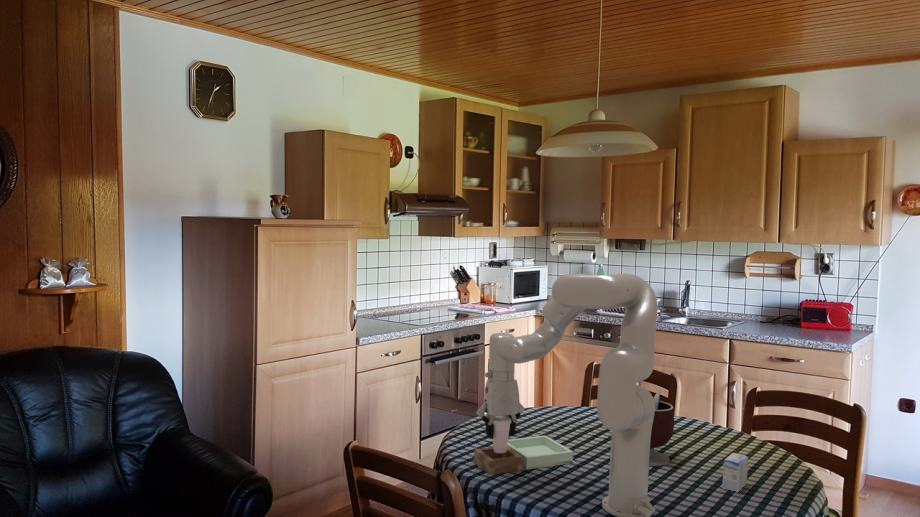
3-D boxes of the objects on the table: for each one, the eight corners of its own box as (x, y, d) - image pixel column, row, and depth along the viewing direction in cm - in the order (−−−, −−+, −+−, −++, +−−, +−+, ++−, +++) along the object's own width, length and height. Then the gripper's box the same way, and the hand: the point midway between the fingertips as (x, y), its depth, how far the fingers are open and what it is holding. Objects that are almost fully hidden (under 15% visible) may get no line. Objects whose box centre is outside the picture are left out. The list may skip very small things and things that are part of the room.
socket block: (522, 470, 188) (522, 457, 188) (489, 475, 184) (490, 461, 184) (505, 458, 198) (505, 445, 198) (473, 462, 193) (474, 449, 193)
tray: (572, 463, 196) (573, 451, 195) (526, 469, 189) (527, 457, 189) (544, 446, 210) (545, 435, 210) (501, 451, 204) (501, 440, 203)
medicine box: (730, 481, 185) (732, 452, 185) (746, 486, 182) (748, 455, 182) (721, 489, 179) (723, 459, 179) (738, 494, 176) (740, 463, 176)
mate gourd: (665, 470, 192) (668, 404, 191) (620, 460, 200) (623, 396, 199) (678, 455, 205) (681, 393, 204) (635, 446, 213) (638, 386, 212)
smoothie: (509, 455, 186) (510, 407, 186) (487, 453, 188) (488, 406, 187) (512, 448, 193) (513, 402, 192) (490, 446, 194) (491, 400, 193)
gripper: (480, 380, 182) (479, 443, 183) (533, 376, 189) (532, 436, 190) (469, 375, 189) (468, 435, 190) (521, 371, 196) (519, 429, 197)
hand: (500, 435), depth 190 cm, fingers closed on smoothie, 6 cm apart
